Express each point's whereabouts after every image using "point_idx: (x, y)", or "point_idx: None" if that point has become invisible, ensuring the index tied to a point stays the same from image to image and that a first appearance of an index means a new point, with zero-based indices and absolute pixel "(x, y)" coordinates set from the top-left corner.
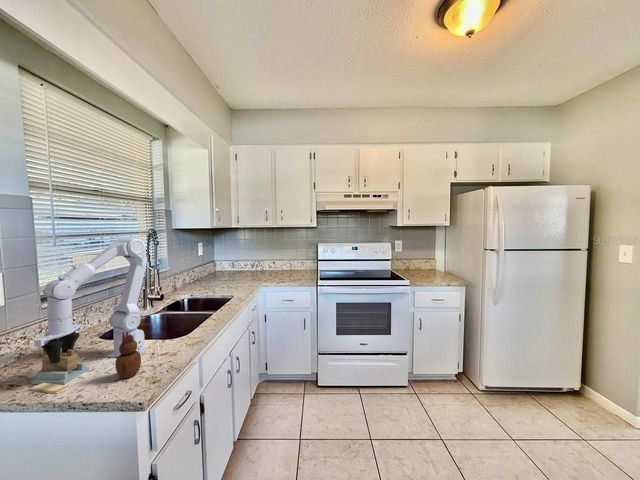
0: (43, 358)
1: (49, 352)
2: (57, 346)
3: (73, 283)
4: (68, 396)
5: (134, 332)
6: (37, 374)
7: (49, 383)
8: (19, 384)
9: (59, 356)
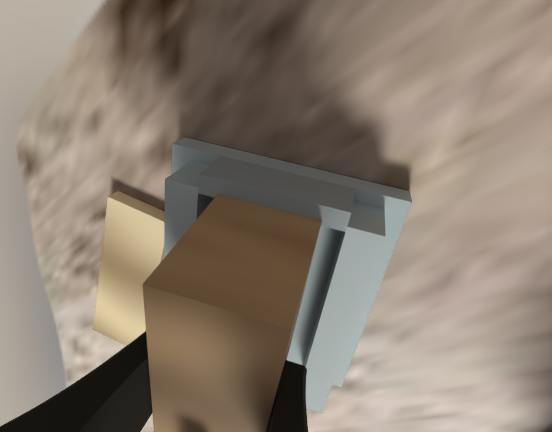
0: (157, 274)
1: (73, 415)
2: None
3: None
4: (89, 366)
5: None
6: (171, 188)
7: (158, 264)
8: (187, 36)
9: (135, 427)
